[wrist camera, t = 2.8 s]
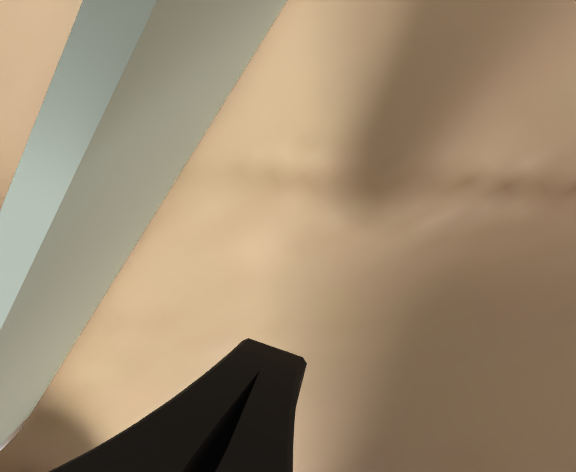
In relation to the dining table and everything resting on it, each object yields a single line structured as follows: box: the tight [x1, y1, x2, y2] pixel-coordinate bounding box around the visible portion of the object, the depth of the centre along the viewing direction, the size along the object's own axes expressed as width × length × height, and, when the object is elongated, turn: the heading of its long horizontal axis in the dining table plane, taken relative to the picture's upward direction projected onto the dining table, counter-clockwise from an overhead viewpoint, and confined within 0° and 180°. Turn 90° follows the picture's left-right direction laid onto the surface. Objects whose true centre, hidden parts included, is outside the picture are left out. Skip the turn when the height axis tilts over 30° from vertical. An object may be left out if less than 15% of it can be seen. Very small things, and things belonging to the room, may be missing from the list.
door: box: [0, 0, 287, 451], centre depth 13 cm, size 19×1×5 cm, turn 145°
